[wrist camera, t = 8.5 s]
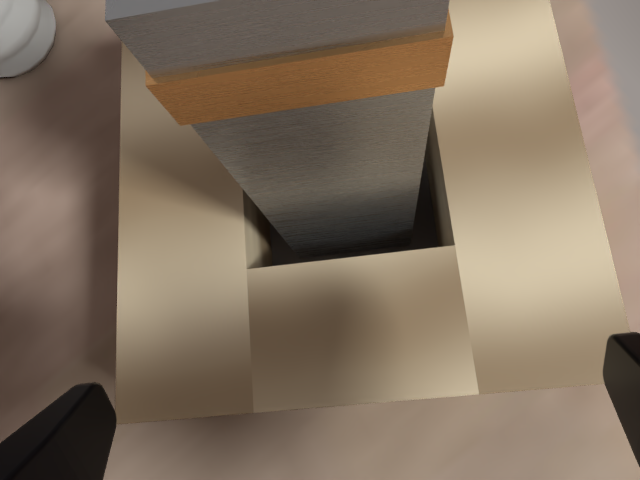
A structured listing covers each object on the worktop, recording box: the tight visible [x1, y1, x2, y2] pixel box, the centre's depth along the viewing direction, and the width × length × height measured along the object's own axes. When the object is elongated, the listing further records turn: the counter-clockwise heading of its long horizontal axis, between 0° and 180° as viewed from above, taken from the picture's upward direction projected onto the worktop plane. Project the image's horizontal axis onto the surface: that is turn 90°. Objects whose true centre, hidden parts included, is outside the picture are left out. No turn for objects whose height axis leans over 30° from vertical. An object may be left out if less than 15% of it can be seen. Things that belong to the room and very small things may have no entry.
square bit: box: [105, 0, 454, 258], centre depth 12 cm, size 4×4×13 cm
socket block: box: [115, 0, 630, 424], centre depth 17 cm, size 14×14×4 cm
